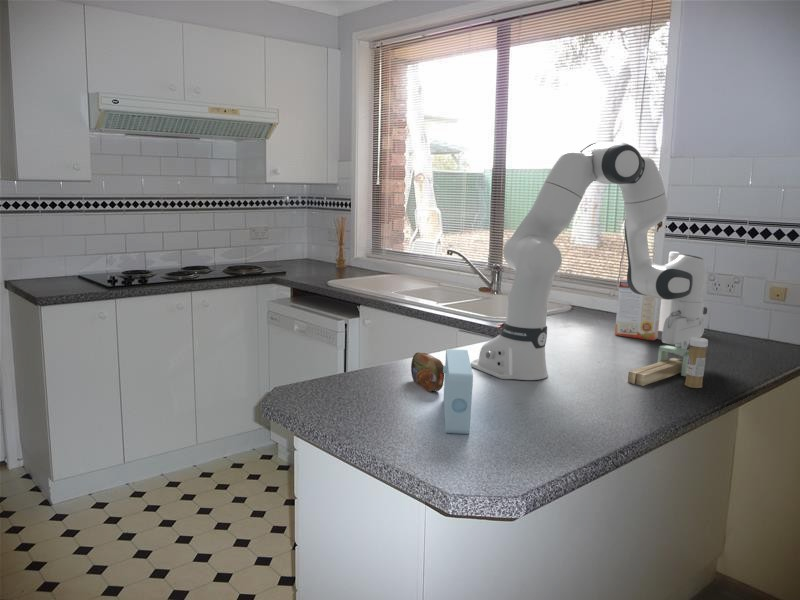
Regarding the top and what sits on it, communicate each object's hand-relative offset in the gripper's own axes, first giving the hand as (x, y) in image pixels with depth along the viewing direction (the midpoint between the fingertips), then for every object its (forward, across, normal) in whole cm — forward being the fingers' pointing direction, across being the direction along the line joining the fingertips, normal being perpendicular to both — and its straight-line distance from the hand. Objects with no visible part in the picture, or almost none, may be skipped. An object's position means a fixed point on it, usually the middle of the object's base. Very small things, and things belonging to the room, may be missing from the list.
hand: (680, 355), depth 205 cm
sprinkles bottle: (+5, -14, -11) cm, 18 cm away
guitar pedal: (+5, -86, +12) cm, 87 cm away
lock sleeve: (+4, -4, 0) cm, 6 cm away
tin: (+5, -75, +32) cm, 81 cm away
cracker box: (+5, +31, +31) cm, 44 cm away
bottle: (+5, +52, +30) cm, 60 cm away
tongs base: (+5, -12, +1) cm, 13 cm away
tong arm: (+5, -13, -1) cm, 14 cm away
